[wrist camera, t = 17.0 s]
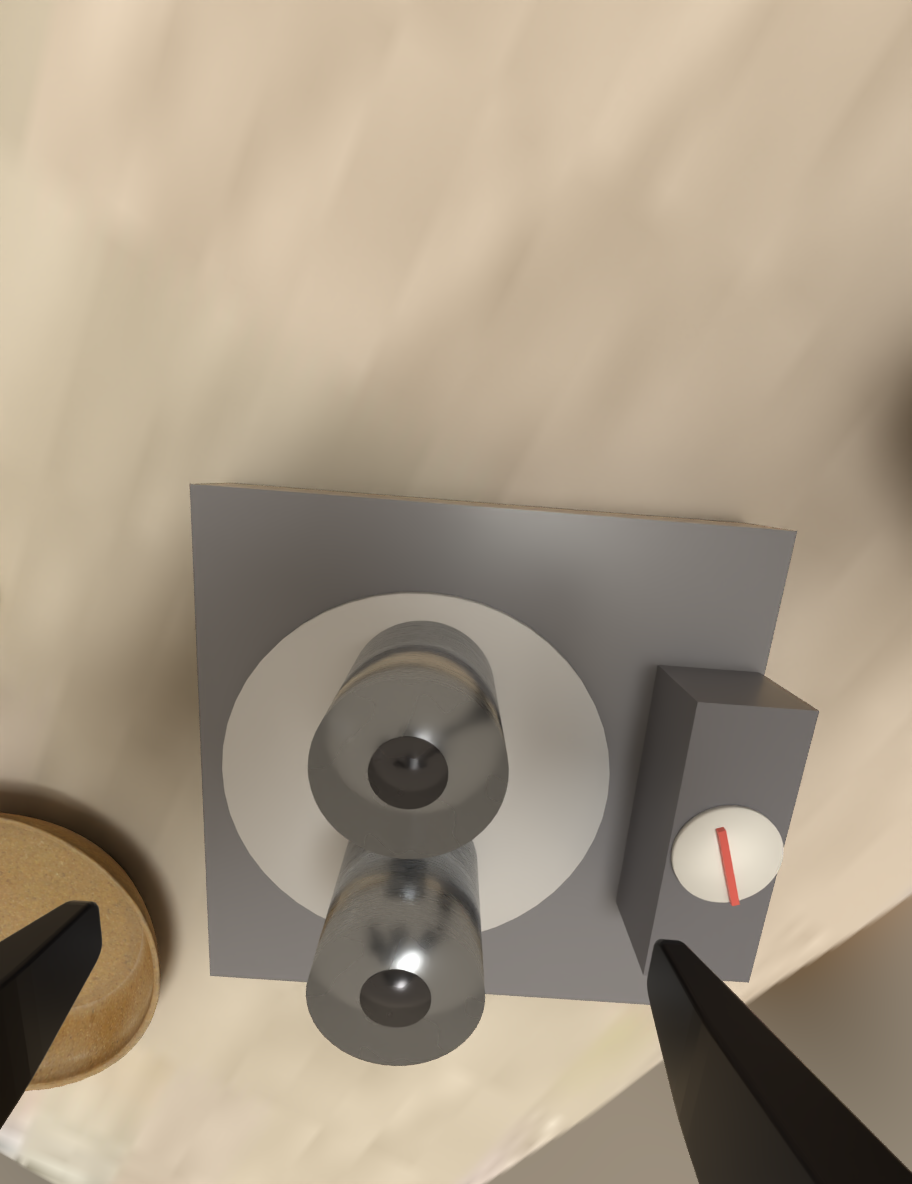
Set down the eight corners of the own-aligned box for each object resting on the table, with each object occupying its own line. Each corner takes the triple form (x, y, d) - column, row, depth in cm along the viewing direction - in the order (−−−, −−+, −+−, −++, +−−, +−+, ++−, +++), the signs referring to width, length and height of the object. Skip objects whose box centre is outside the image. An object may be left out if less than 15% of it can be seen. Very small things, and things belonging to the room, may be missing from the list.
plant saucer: (111, 739, 22) (66, 774, 19) (235, 996, 25) (209, 1055, 22) (-183, 819, 23) (-264, 862, 20) (-29, 1057, 26) (-82, 1120, 23)
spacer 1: (487, 759, 18) (499, 866, 13) (348, 750, 18) (305, 853, 13) (501, 626, 17) (518, 687, 12) (352, 615, 17) (308, 671, 12)
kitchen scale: (746, 523, 19) (881, 544, 13) (660, 942, 24) (730, 1105, 18) (230, 483, 19) (122, 485, 13) (241, 914, 24) (163, 1069, 17)
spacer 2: (473, 919, 19) (480, 1070, 14) (345, 915, 19) (307, 1064, 14) (480, 807, 18) (490, 929, 13) (344, 802, 18) (303, 922, 13)
